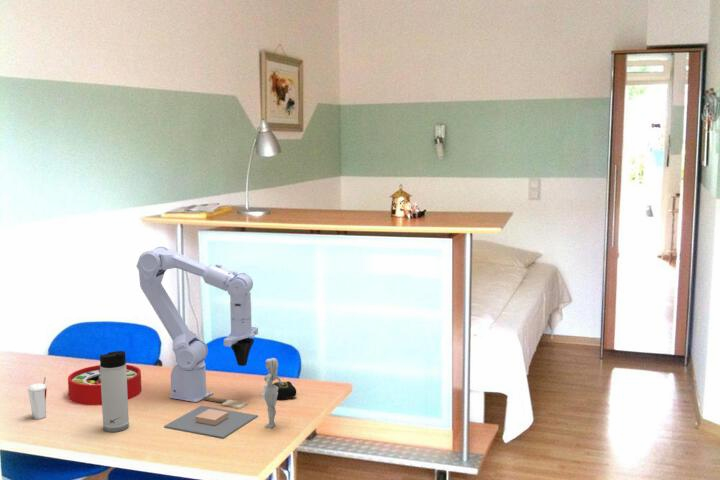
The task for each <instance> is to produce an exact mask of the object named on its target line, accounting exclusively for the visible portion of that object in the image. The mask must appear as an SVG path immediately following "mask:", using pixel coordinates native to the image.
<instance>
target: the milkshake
mask: <svg viewBox="0 0 720 480" xmlns="http://www.w3.org/2000/svg"><path fill="white" fill-rule="evenodd" d="M46 378H47V377H46V376H45V377H44V378H43V381H42V382H43V383H41V382H40V383H39V382H37V383H32V384H31V385H29V386H28V388H27V393H28V398H29V403H30V409H31V410H30V411H31V416H32V419H34V420H40V419H43V418H46V417H47V391H48V389H47V384H46Z"/></svg>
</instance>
